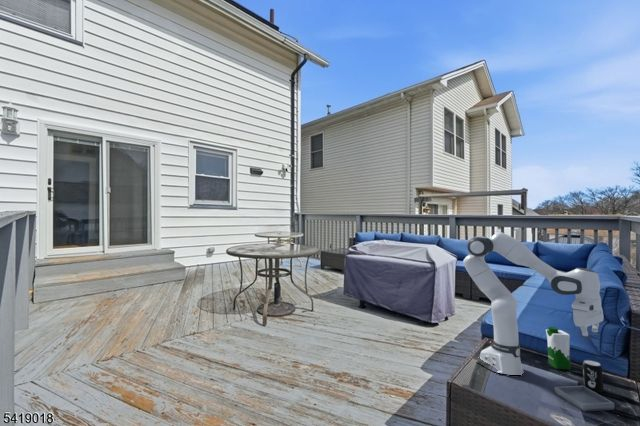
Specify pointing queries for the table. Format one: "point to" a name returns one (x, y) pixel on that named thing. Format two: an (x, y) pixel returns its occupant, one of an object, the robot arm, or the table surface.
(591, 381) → the beverage can
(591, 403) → the tray
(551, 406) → the table surface
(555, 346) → the milk carton
